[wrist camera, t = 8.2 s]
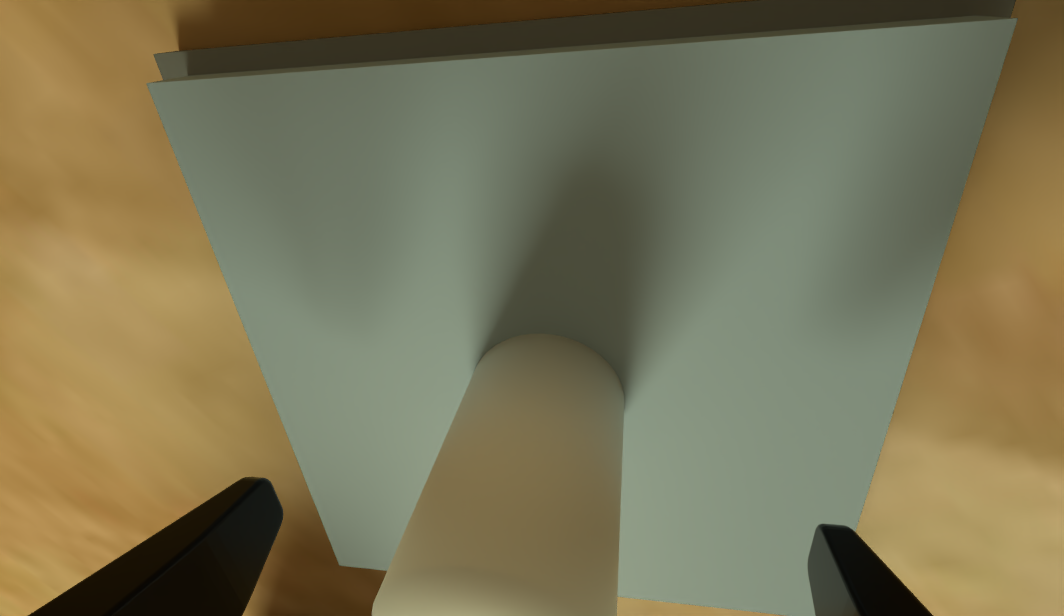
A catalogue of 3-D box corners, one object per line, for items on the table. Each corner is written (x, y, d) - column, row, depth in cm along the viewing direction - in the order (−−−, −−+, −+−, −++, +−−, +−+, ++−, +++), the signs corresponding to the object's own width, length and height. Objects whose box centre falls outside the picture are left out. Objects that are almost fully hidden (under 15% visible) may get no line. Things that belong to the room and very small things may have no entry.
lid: (976, 16, 8) (1630, 61, 3) (816, 581, 14) (917, 917, 9) (187, 75, 10) (-270, 160, 5) (354, 536, 17) (227, 779, 11)
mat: (997, -21, 8) (1022, -22, 7) (823, 576, 15) (830, 597, 14) (177, 50, 11) (153, 54, 10) (352, 530, 17) (343, 546, 17)
